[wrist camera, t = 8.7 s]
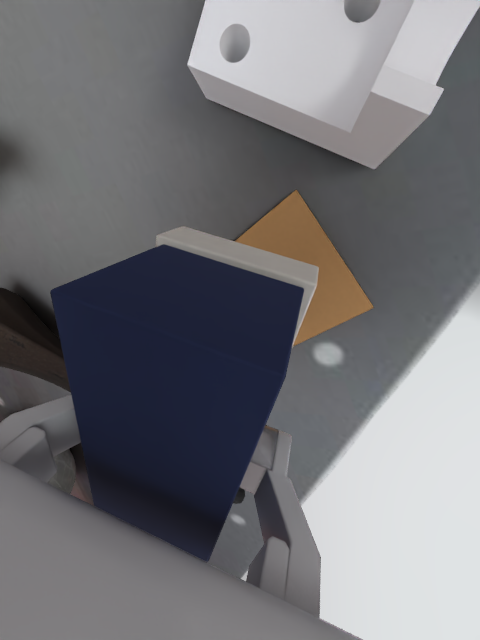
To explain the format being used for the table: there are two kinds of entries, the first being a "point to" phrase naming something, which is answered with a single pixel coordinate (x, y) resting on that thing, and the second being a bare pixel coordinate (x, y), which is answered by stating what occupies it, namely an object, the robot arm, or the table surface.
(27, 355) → the dark brown bone
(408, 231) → the table surface
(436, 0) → the bracket
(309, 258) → the mat
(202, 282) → the navy stepped block
